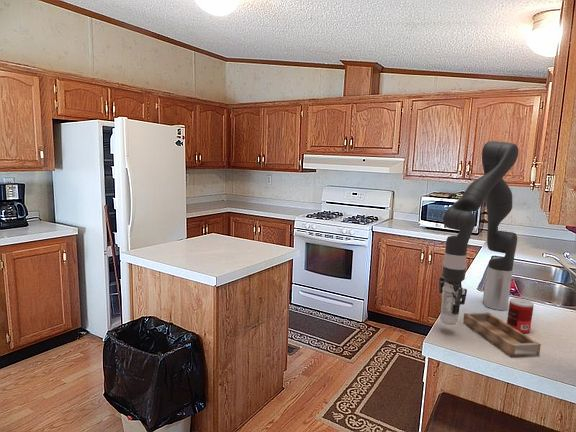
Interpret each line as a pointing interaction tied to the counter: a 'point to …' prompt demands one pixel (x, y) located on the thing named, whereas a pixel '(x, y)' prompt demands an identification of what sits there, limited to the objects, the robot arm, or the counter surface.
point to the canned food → (520, 314)
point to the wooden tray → (502, 335)
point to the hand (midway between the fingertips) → (449, 310)
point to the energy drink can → (448, 305)
